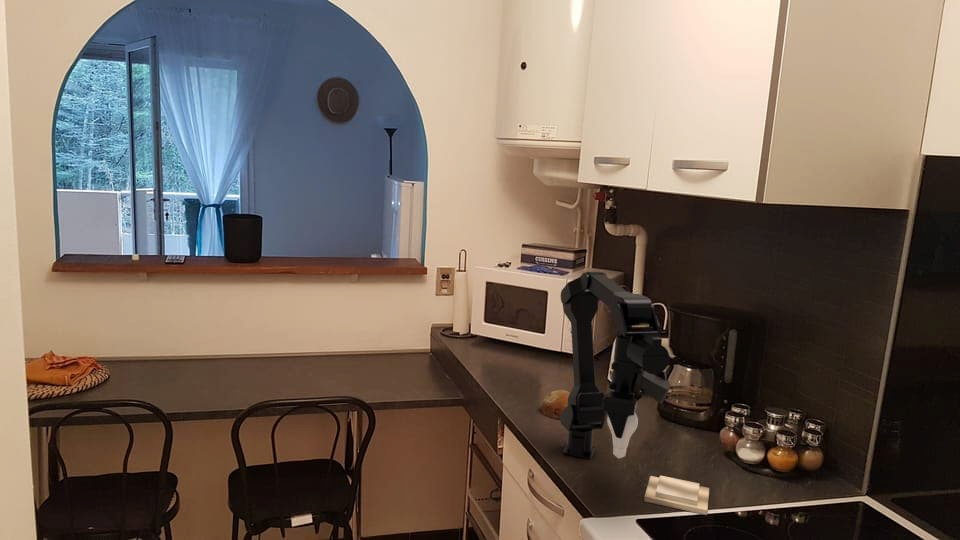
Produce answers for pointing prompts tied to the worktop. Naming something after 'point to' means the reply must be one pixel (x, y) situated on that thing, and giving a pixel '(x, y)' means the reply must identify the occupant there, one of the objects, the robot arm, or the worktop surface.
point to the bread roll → (555, 403)
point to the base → (677, 494)
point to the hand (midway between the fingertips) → (621, 432)
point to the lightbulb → (622, 443)
